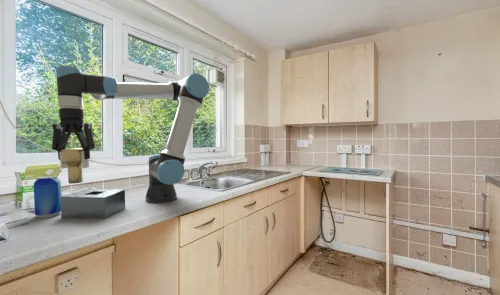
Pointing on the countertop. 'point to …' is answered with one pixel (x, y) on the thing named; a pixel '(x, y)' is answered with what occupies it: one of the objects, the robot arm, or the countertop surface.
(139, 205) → the countertop surface
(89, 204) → the block
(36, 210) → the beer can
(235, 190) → the countertop surface
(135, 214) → the countertop surface
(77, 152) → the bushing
